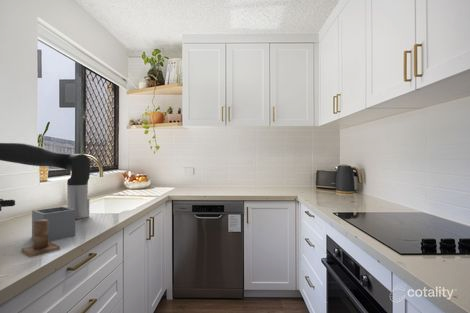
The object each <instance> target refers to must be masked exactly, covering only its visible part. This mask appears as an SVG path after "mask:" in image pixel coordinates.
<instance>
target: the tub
mask: <svg viewBox="0 0 470 313" xmlns="http://www.w3.org/2000/svg"><path fill="white" fill-rule="evenodd" d="M42 219H47V220H48V242H53V241H57V240H62V239H66V238H70V237H74V236H76V219H75V209H72V208H68V207H67V206H56V207H48V208H41V209H35V210H31V238H32V239H34V221H36V220H42Z"/></svg>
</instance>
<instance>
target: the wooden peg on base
mask: <svg viewBox="0 0 470 313" xmlns="http://www.w3.org/2000/svg"><path fill="white" fill-rule="evenodd" d="M60 248H61V247H60V245H58V244H55V243H53V242H52V241H49V242H48V220H47V219H42V220H36V221H34V238H33V245H30V246H26V247H22V248H21V252H22V253H23V254H25V255H27V256H29V257H30V258H32V257H36V256H37V257H38V256H40V255H45V254H47V253H48V254H49V253H51V252H52V253H53V252H56V251H60V250H61V249H60Z"/></svg>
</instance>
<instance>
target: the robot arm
mask: <svg viewBox="0 0 470 313" xmlns="http://www.w3.org/2000/svg"><path fill="white" fill-rule="evenodd" d="M0 161H1V162H8V163H15V164H21V165H25V166H33V167H34V166H35V167H54V168H57V169H62V170H66V171H69V172H71V174H70V177H69V178H68V179H67V183H66V184H67V185H66V186H67V188H66V191H67V192H66V201H67V202H66V207H68V208H72V209H75V220H80V219H85V218H89V217H90V198H89V194H88V192H89V191H88V190H89V188H88V187H89V180H90V176H91V160H90V158H89V156H87V155H86V154H84V153H62V152H57V151H53V150H51V149H48V148H46V147H43V146H40V145H34V144H28V143H22V142H21V143H20V142H17V143H16V142H0ZM15 205H16V200H15V199H3V198H0V212H2V208H4V207H5V208H6V207H14V206H15Z"/></svg>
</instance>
